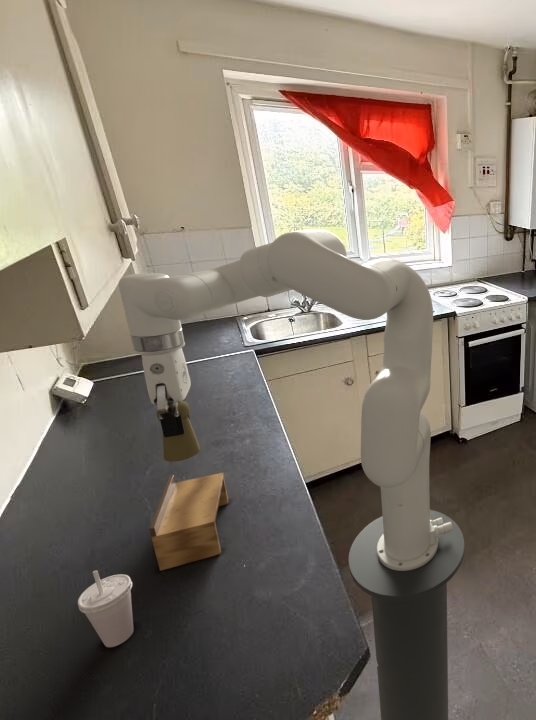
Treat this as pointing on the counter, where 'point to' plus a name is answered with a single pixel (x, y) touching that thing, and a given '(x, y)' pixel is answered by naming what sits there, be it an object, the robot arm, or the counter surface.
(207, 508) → the spice shelf
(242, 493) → the counter surface
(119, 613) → the smoothie
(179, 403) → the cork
